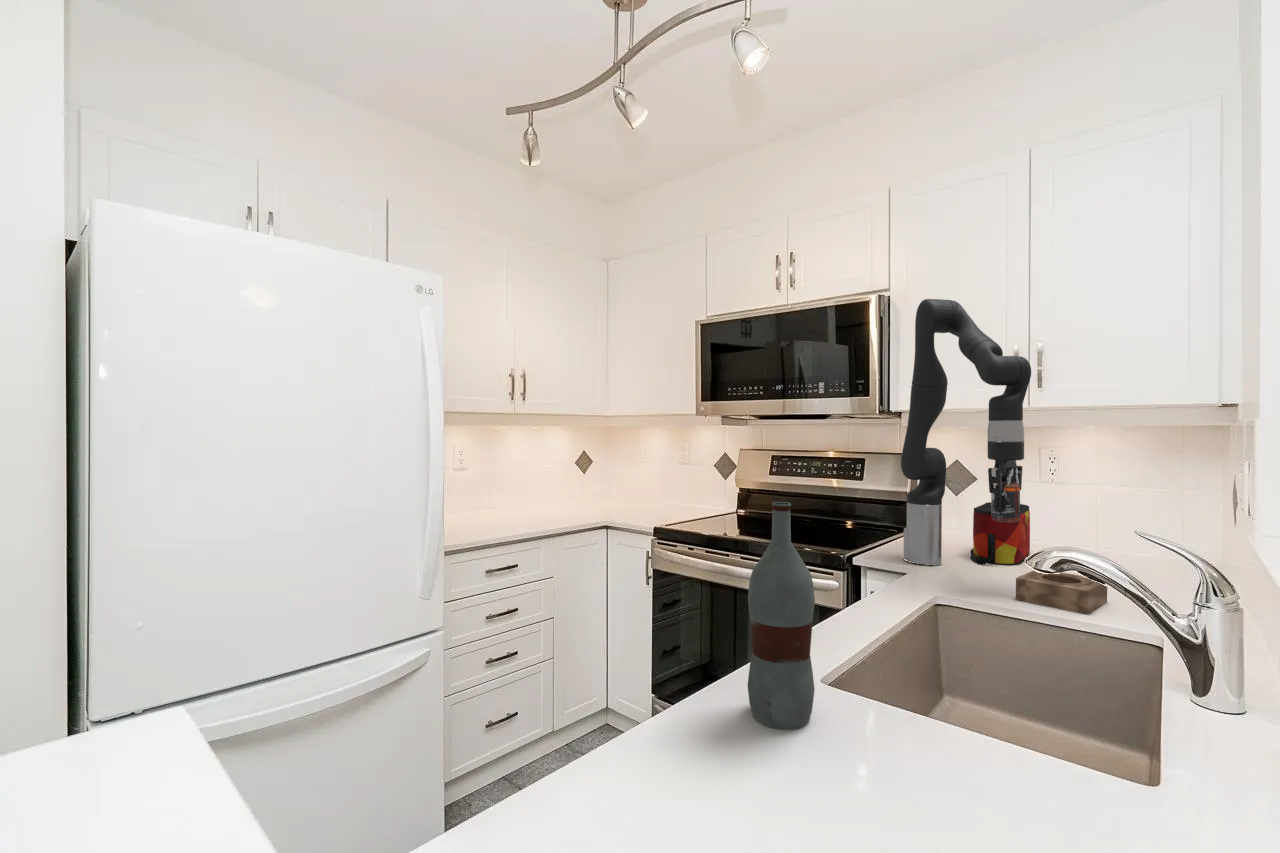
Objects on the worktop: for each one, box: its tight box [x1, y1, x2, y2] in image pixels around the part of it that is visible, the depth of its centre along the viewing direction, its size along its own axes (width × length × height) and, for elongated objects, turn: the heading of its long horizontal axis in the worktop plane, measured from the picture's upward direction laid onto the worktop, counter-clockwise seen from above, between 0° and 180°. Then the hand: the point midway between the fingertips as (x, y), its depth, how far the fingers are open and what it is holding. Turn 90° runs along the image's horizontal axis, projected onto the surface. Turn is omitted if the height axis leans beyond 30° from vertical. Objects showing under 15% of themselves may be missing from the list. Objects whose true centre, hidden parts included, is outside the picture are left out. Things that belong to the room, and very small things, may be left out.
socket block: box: [1015, 570, 1108, 615], centre depth 142 cm, size 14×14×5 cm
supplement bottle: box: [990, 474, 1021, 523], centre depth 147 cm, size 6×6×11 cm
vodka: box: [747, 501, 816, 731], centre depth 87 cm, size 9×9×30 cm
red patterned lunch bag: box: [970, 501, 1031, 567], centre depth 186 cm, size 30×14×16 cm, turn 139°
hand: (1005, 510), depth 147 cm, fingers closed on supplement bottle, 6 cm apart
